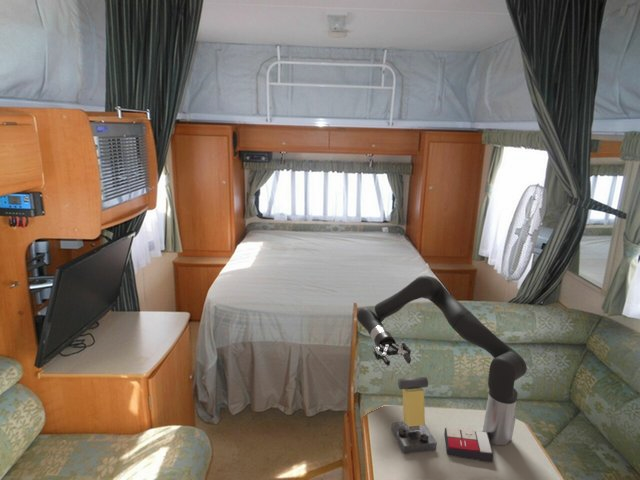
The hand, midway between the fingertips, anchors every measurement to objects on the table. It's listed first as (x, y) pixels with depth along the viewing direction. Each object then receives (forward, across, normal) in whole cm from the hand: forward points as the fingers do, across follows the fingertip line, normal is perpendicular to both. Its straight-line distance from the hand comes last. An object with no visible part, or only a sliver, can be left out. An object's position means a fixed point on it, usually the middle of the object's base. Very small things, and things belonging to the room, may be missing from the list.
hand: (399, 362), depth 161 cm
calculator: (+25, +18, +20) cm, 37 cm away
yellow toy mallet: (+16, +1, +16) cm, 23 cm away
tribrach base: (+17, +1, +21) cm, 27 cm away
